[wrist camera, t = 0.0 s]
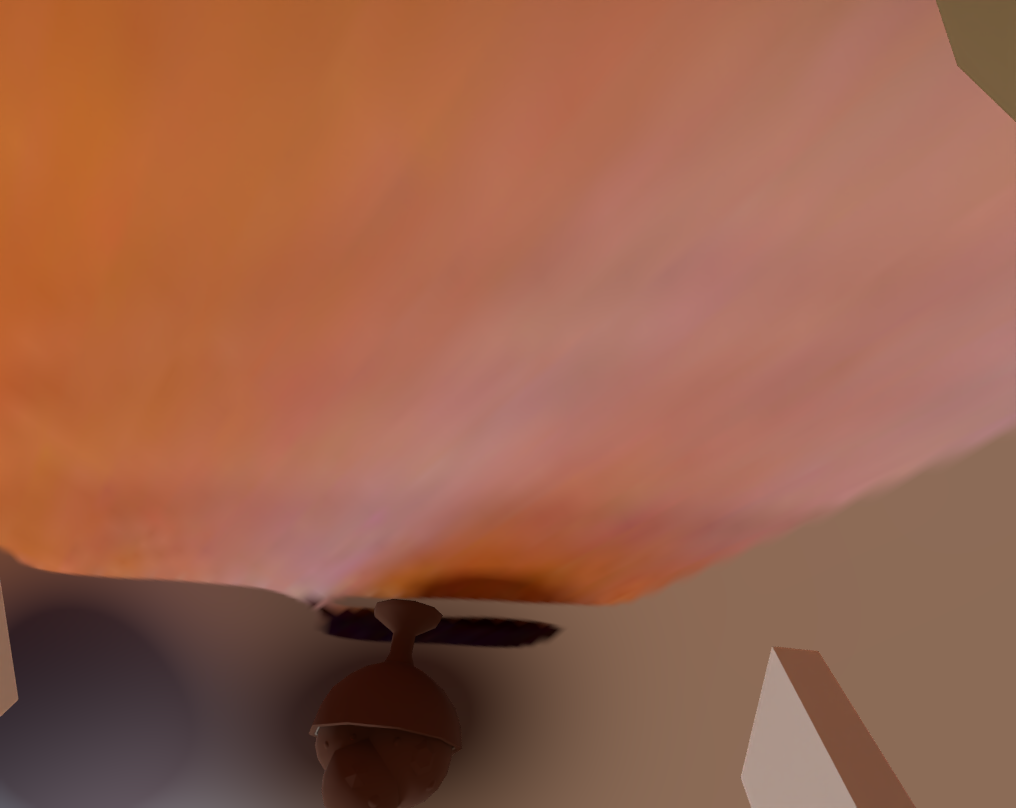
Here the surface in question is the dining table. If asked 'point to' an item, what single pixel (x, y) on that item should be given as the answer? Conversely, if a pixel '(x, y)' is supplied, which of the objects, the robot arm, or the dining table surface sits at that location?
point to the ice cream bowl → (387, 724)
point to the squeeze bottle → (985, 45)
